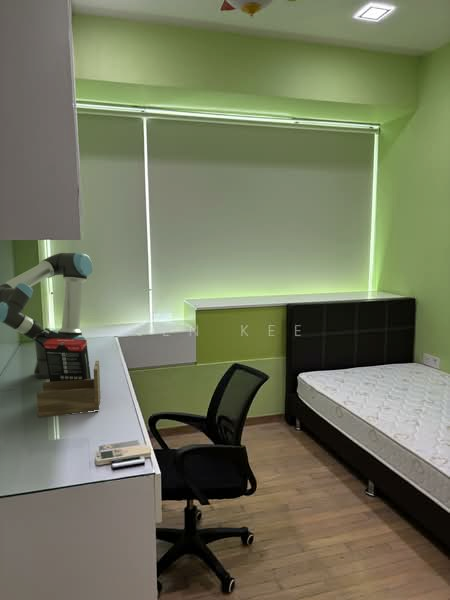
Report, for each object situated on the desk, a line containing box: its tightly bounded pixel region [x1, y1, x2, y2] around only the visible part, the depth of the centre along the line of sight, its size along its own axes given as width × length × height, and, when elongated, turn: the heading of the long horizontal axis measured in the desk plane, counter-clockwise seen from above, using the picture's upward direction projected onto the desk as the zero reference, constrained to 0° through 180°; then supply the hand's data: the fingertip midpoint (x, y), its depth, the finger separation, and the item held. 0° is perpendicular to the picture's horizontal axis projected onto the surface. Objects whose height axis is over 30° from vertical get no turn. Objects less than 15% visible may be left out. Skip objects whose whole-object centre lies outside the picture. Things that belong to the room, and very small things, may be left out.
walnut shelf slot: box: [36, 360, 102, 418], centre depth 180 cm, size 14×23×18 cm, turn 103°
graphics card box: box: [44, 338, 92, 382], centre depth 189 cm, size 17×7×27 cm, turn 84°
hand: (68, 350), depth 201 cm, fingers open, 13 cm apart
